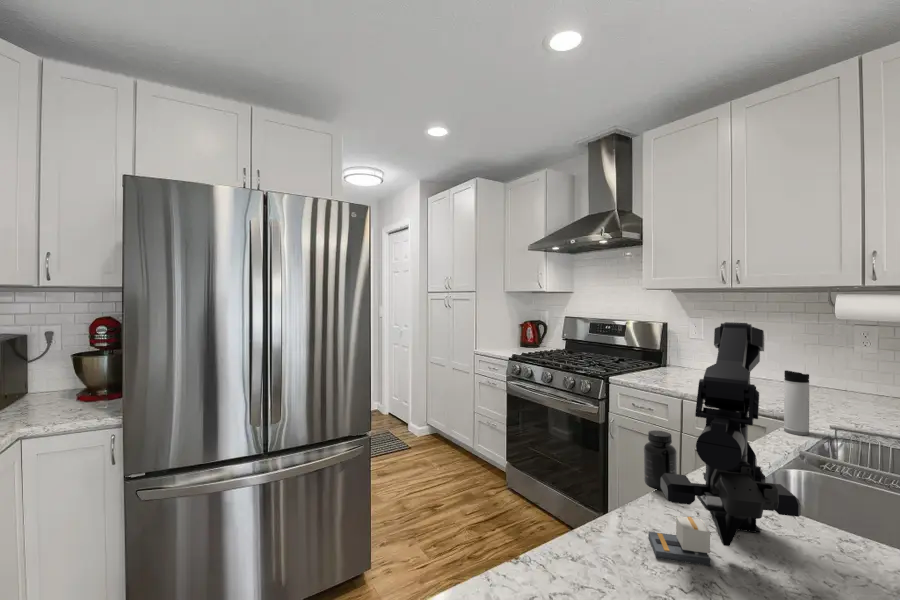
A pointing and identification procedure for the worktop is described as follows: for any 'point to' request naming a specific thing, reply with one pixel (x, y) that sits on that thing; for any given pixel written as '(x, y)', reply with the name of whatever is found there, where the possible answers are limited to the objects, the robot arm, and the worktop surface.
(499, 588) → the worktop surface
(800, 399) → the travel mug
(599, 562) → the worktop surface
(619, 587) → the worktop surface
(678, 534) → the block
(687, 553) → the panel
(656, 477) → the supplement bottle
